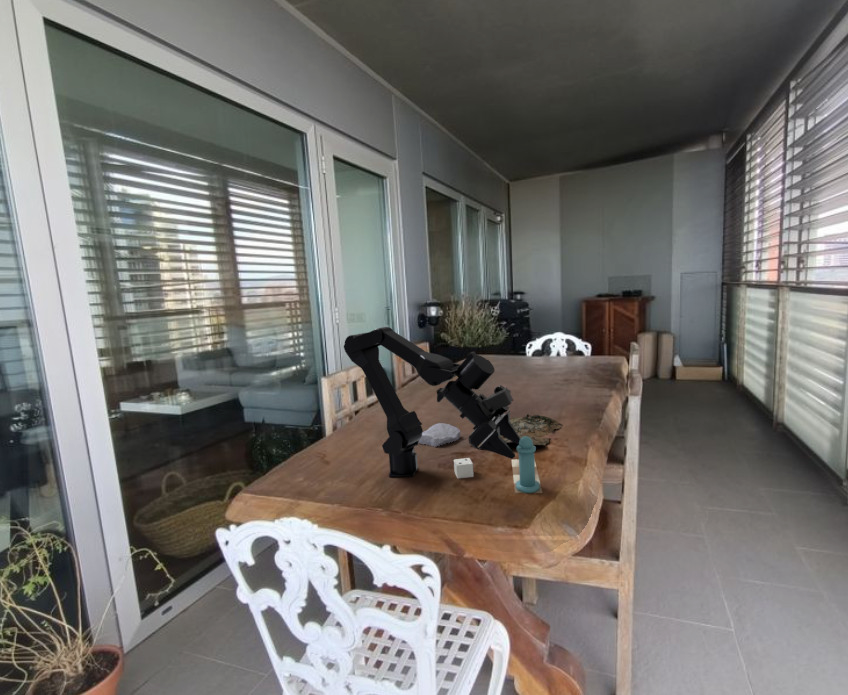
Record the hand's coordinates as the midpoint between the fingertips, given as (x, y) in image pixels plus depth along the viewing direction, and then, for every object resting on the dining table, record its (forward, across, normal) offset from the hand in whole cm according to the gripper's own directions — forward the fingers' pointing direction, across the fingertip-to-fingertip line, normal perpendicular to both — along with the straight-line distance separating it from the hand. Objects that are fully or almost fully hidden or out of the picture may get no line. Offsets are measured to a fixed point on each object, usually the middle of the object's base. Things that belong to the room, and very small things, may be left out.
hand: (517, 450), depth 105 cm
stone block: (-14, +30, +27) cm, 43 cm away
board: (+7, +7, +6) cm, 12 cm away
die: (-4, +5, +17) cm, 18 cm away
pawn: (+8, 0, +5) cm, 9 cm away
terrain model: (+1, +39, +13) cm, 41 cm away
